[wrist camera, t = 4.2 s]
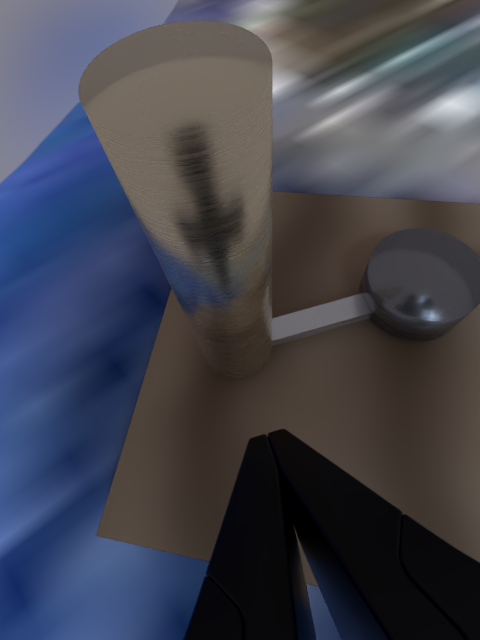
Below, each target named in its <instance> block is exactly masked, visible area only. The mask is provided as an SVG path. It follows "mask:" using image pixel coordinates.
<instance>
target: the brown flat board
mask: <svg viewBox="0 0 480 640" xmlns="http://www.w3.org/2000/svg"><path fill="white" fill-rule="evenodd" d="M412 228H425V229H432V230H437V231H440V232H444V233H446V234H449V235H451V236H453V237H455V238H457V239H459V240H460V241H462V242H463V243H465V244H466V245H467V246H469V247H470V248H471V249H472V250H473V251H474V252H475V253H476V255H477V256H478V257H479V258H480V204H473V203H457V202H440V201H423V200H407V199H390V198H373V197H357V196H340V195H323V194H307V193H290V192H273V191H272V318H276V317H279V316H283V315H287V314H290V313H294V312H297V311H301V310H304V309H308V308H311V307H315V306H319V305H322V304H326V303H329V302H333V301H336V300H340V299H343V298H347V297H351V296H354V295H358V291H359V284H360V281H361V279H362V276H363V274H364V271H365V269H366V267H367V264H368V262H369V259H370V257H371V255H372V252H373V250H374V249H375V247H376V246H377V244H378V243H379V242H380V241H381V240H383V239H384V238H385V237H387V236H388V235H390V234H392V233H394V232H397V231H400V230H405V229H412ZM279 429H286V430H288V431H289V432H290V433H292V434H293V435H295V436H296V437H298V438H299V439H300V440H302V441H303V442H305V443H306V444H307V445H309V446H310V447H312V448H313V449H315V450H316V451H317V452H319V453H320V454H322V455H323V456H324V457H326V458H327V459H329V460H330V461H332V462H333V463H334V464H336V465H337V466H339V467H340V468H341V469H343V470H344V471H346V472H347V473H349V474H350V475H351V476H353V477H354V478H356V479H357V480H358V481H360V482H361V483H363V484H364V485H366V486H367V487H368V488H370V489H371V490H373V491H374V492H375V493H377V494H378V495H380V496H381V497H383V498H384V499H385V500H387V501H388V502H390V503H391V504H392V505H394V506H395V507H397V508H398V509H400V510H401V511H402V512H403V515H404V514H407V515H408V516H410V517H411V518H413V519H414V520H415V521H417V522H418V523H420V524H421V525H422V526H424V527H425V528H427V529H428V530H430V531H431V532H433V533H434V534H436V535H437V536H439V537H440V538H442V539H443V540H445V541H446V542H448V543H449V544H451V545H452V546H454V547H455V548H457V549H458V550H460V551H462V552H463V553H465V554H467V555H468V556H470V557H472V558H473V559H475V560H477V561H478V562H480V304H479V305H478V306H477V307H476V308H475V309H474V310H473V311H472V312H471V313H470V314H469V315H467V316H466V317H465V318H464V319H463V320H462V321H461V322H460V323H459V324H458V325H456V326H455V327H454V328H453V329H452V330H451V331H450V332H448V333H447V334H445V335H444V336H442V337H440V338H437V339H434V340H430V341H422V342H417V341H407V340H403V339H399V338H396V337H393V336H391V335H389V334H387V333H385V332H384V331H382V330H380V329H379V328H378V327H377V326H375V325H374V324H373V323H372V322H371V321H370V320H369V319H366V320H363V321H359V322H356V323H352V324H349V325H345V326H342V327H338V328H335V329H331V330H328V331H324V332H321V333H317V334H314V335H310V336H307V337H303V338H300V339H296V340H293V341H289V342H286V343H282V344H279V345H275V346H272V351H271V355H270V357H269V360H268V361H267V363H266V364H265V365H264V367H263V368H262V369H260V370H259V371H258V372H256V373H255V374H253V375H250V376H248V377H243V378H231V377H226V376H223V375H221V374H219V373H218V372H216V371H215V370H214V369H213V368H212V367H211V366H210V365H209V363H208V361H207V359H206V357H205V355H204V353H203V351H202V349H201V347H200V345H199V343H198V341H197V339H196V337H195V335H194V333H193V331H192V329H191V327H190V325H189V322H188V320H187V318H186V316H185V314H184V312H183V310H182V308H181V306H180V304H179V302H178V300H177V298H176V296H175V294H174V292H173V290H172V288H171V291H170V294H169V298H168V301H167V304H166V307H165V311H164V314H163V317H162V321H161V324H160V327H159V331H158V334H157V337H156V340H155V344H154V347H153V350H152V354H151V357H150V360H149V363H148V367H147V370H146V373H145V377H144V380H143V383H142V386H141V390H140V393H139V396H138V400H137V403H136V406H135V409H134V413H133V416H132V419H131V423H130V426H129V429H128V432H127V436H126V439H125V442H124V446H123V449H122V452H121V455H120V459H119V462H118V465H117V469H116V472H115V475H114V479H113V482H112V485H111V488H110V492H109V495H108V498H107V502H106V505H105V508H104V511H103V515H102V518H101V521H100V525H99V528H98V531H97V534H96V536H100V537H104V538H109V539H113V540H117V541H122V542H126V543H130V544H135V545H139V546H144V547H148V548H152V549H157V550H161V551H165V552H170V553H174V554H178V555H183V556H187V557H192V558H196V559H200V560H205V561H209V562H210V558H211V555H212V552H213V549H214V546H215V543H216V540H217V537H218V534H219V531H220V527H221V524H222V521H223V518H224V515H225V512H226V509H227V506H228V503H229V499H230V496H231V493H232V490H233V487H234V484H235V481H236V478H237V475H238V472H239V468H240V465H241V462H242V459H243V456H244V453H245V450H246V447H247V444H248V441H249V439H250V438H252V437H255V436H259V435H262V434H266V435H267V436H268V433H269V432H272V431H276V430H279ZM294 529H295V528H294ZM295 532H296V531H295ZM296 536H297V534H296ZM297 540H298V545H299V550H300V555H301V560H302V565H303V571H304V576H305V582H306V584H309V585H314V586H318V584H317V581H316V579H315V577H314V575H313V572H312V570H311V568H310V565H309V563H308V561H307V559H306V556H305V554H304V552H303V549H302V547H301V544H300V542H299V539H298V537H297ZM318 587H319V586H318Z"/></svg>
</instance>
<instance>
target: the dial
mask: <svg viewBox="0 0 480 640" xmlns="http://www.w3.org/2000/svg"><path fill="white" fill-rule="evenodd" d="M79 98H80V101H81V104H82V106H83V108H84V110H85V112H86V114H87V116H88V118H89V120H90V122H91V124H92V126H93V128H94V130H95V132H96V134H97V136H98V138H99V140H100V143H101V145H102V147H103V149H104V151H105V153H106V155H107V157H108V159H109V161H110V163H111V165H112V167H113V169H114V171H115V173H116V175H117V177H118V179H119V181H120V183H121V185H122V188H123V190H124V192H125V194H126V196H127V198H128V200H129V202H130V204H131V206H132V208H133V210H134V212H135V214H136V216H137V218H138V220H139V222H140V224H141V226H142V228H143V230H144V232H145V235H146V237H147V239H148V241H149V243H150V245H151V247H152V249H153V251H154V253H155V255H156V257H157V259H158V261H159V263H160V265H161V267H162V269H163V271H164V273H165V275H166V277H167V280H168V282H169V284H170V286H171V288H172V290H173V292H174V294H175V296H176V298H177V300H178V302H179V304H180V306H181V308H182V310H183V312H184V314H185V316H186V318H187V320H188V322H189V325H190V327H191V329H192V331H193V333H194V335H195V337H196V339H197V341H198V343H199V345H200V347H201V349H202V351H203V353H204V355H205V357H206V359H207V361H208V363H209V365H210V366H211V367H212V368H213V369H214V370H215V371H216V372H218V373H219V374H221V375H223V376H226V377H231V378H243V377H248V376H250V375H253V374H255V373H256V372H258V371H259V370H260V369H262V368H263V367H264V365H265V364H266V363H267V361H268V360H269V357H270V355H271V351H272V346H275V345H279V344H282V343H286V342H289V341H293V340H296V339H300V338H303V337H307V336H310V335H314V334H317V333H321V332H324V331H328V330H331V329H335V328H338V327H342V326H345V325H349V324H352V323H356V322H359V321H363V320H366V319H369V320H370V321H371V322H372V323H373V324H374V325H375V326H377V327H378V328H379V329H380V330H382V331H384V332H385V333H387V334H389V335H391V336H393V337H396V338H399V339H403V340H407V341H417V342H422V341H430V340H434V339H437V338H440V337H442V336H444V335H445V334H447V333H448V332H450V331H451V330H452V329H453V328H454V327H455V326H456V325H458V324H459V323H460V322H461V321H462V320H463V319H464V318H465V317H466V316H467V315H469V314H470V313H471V312H472V311H473V310H474V309H475V308H476V307H477V306H478V305H479V304H480V258H479V257H478V256H477V255H476V253H475V252H474V251H473V250H472V249H471V248H470V247H469V246H467V245H466V244H465V243H463V242H462V241H460V240H459V239H457V238H455V237H453V236H451V235H449V234H446V233H444V232H440V231H437V230H432V229H425V228H412V229H405V230H400V231H397V232H394V233H392V234H390V235H388V236H387V237H385V238H384V239H383V240H381V241H380V242H379V243H378V244H377V246H376V247H375V249H374V250H373V252H372V255H371V257H370V259H369V262H368V264H367V267H366V269H365V271H364V274H363V276H362V279H361V281H360V284H359V291H358V295H354V296H351V297H347V298H343V299H340V300H336V301H333V302H329V303H326V304H322V305H319V306H315V307H311V308H308V309H304V310H301V311H297V312H294V313H290V314H287V315H283V316H279V317H276V318H272V57H271V53H270V51H269V49H268V47H267V46H266V44H265V43H264V42H263V41H262V40H261V39H260V38H259V37H258V36H257V35H255V34H253V33H252V32H250V31H248V30H246V29H244V28H241V27H239V26H236V25H232V24H228V23H223V22H217V21H204V20H193V21H180V22H173V23H167V24H162V25H158V26H154V27H150V28H147V29H144V30H142V31H139V32H136V33H134V34H131V35H129V36H127V37H125V38H123V39H121V40H119V41H117V42H115V43H114V44H112V45H110V46H109V47H108V48H106V49H105V50H103V51H102V52H101V53H100V54H99V55H97V56H96V57H95V58H94V59H93V60H92V62H91V63H90V64H89V65H88V66H87V68H86V69H85V71H84V73H83V75H82V77H81V79H80V83H79Z"/></svg>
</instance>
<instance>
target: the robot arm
mask: <svg viewBox="0 0 480 640" xmlns="http://www.w3.org/2000/svg"><path fill="white" fill-rule="evenodd" d="M294 528H295V529H294ZM295 531H296V532H295ZM296 534H297V536H296ZM297 537H298V539H299V542H300V544H301V547H302V549H303V552H304V554H305V556H306V559H307V561H308V563H309V565H310V568H311V570H312V572H313V575H314V577H315V579H316V581H317V584H318V586H319V588H320V591H321V593H322V595H323V598H324V600H325V602H326V604H327V607H328V609H329V611H330V614H331V616H332V618H333V620H334V623H335V625H336V627H337V630H338V632H339V634H340V636H341V639H342V640H480V562H478V561H477V560H475V559H473V558H472V557H470V556H468V555H467V554H465V553H463V552H462V551H460V550H458V549H457V548H455V547H454V546H452V545H451V544H449V543H448V542H446V541H445V540H443V539H442V538H440V537H439V536H437V535H436V534H434V533H433V532H431V531H430V530H428V529H427V528H425V527H424V526H422V525H421V524H420V523H418V522H417V521H415V520H414V519H413V518H411V517H410V516H408V515H407V514H404V515H403V512H402V511H401V510H400V509H398V508H397V507H395V506H394V505H392V504H391V503H390V502H388V501H387V500H385V499H384V498H383V497H381V496H380V495H378V494H377V493H375V492H374V491H373V490H371V489H370V488H368V487H367V486H366V485H364V484H363V483H361V482H360V481H358V480H357V479H356V478H354V477H353V476H351V475H350V474H349V473H347V472H346V471H344V470H343V469H341V468H340V467H339V466H337V465H336V464H334V463H333V462H332V461H330V460H329V459H327V458H326V457H324V456H323V455H322V454H320V453H319V452H317V451H316V450H315V449H313V448H312V447H310V446H309V445H307V444H306V443H305V442H303V441H302V440H300V439H299V438H298V437H296V436H295V435H293V434H292V433H290V432H289V431H288V430H286V429H279V430H276V431H272V432H269V433H268V436H267V435H266V434H262V435H259V436H255V437H252V438H250V439H249V441H248V444H247V447H246V450H245V453H244V456H243V459H242V462H241V465H240V468H239V472H238V475H237V478H236V481H235V484H234V487H233V490H232V493H231V496H230V499H229V503H228V506H227V509H226V512H225V515H224V518H223V521H222V524H221V527H220V531H219V534H218V537H217V540H216V543H215V546H214V549H213V552H212V555H211V558H210V562H209V565H208V568H207V571H206V577H204V579H203V583H202V586H201V589H200V592H199V595H198V598H197V601H196V604H195V607H194V610H193V613H192V615H191V618H190V621H189V624H188V627H187V630H186V632H185V635H184V638H183V640H316V635H315V630H314V624H313V619H312V614H311V608H310V603H309V598H308V592H307V587H306V582H305V576H304V571H303V565H302V560H301V555H300V550H299V545H298V540H297Z"/></svg>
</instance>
